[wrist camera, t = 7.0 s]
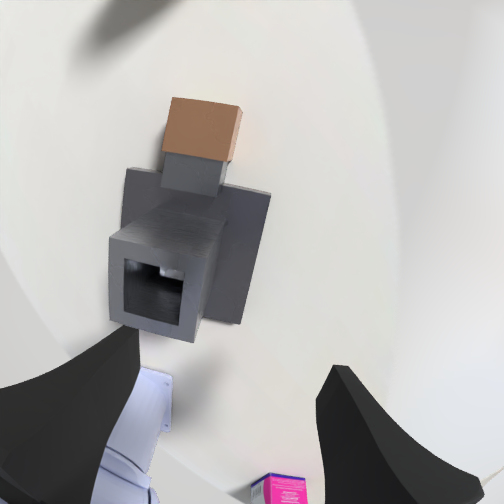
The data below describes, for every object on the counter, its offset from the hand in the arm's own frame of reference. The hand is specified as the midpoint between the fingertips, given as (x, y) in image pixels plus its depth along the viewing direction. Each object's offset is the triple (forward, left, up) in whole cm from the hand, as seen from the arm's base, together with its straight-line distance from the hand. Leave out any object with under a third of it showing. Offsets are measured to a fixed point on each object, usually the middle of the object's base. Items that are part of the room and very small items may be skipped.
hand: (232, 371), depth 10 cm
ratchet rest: (+3, +4, -10) cm, 11 cm away
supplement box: (-32, -11, -10) cm, 35 cm away
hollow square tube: (+1, +4, -9) cm, 10 cm away
